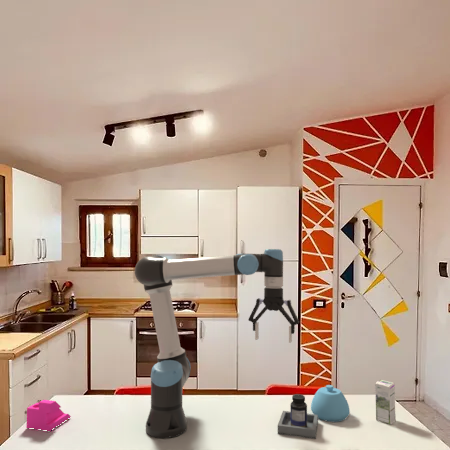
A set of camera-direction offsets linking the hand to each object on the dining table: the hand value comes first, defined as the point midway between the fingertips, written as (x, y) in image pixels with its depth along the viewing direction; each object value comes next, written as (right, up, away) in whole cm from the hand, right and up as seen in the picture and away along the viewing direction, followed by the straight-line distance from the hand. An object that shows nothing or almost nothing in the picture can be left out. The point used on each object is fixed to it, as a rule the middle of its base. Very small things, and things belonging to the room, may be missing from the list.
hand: (273, 340), depth 159 cm
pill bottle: (+8, -29, -11) cm, 32 cm away
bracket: (-87, -30, -7) cm, 92 cm away
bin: (+8, -29, -11) cm, 32 cm away
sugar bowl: (+23, -31, +1) cm, 38 cm away
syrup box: (+43, -30, -5) cm, 53 cm away
